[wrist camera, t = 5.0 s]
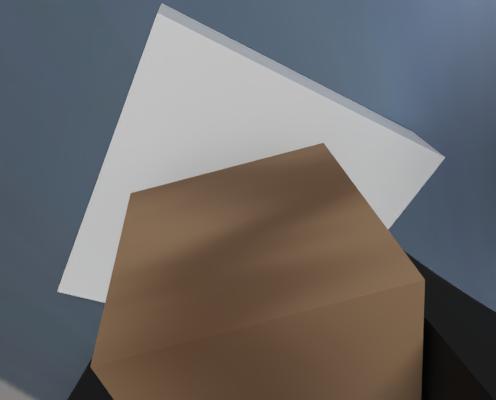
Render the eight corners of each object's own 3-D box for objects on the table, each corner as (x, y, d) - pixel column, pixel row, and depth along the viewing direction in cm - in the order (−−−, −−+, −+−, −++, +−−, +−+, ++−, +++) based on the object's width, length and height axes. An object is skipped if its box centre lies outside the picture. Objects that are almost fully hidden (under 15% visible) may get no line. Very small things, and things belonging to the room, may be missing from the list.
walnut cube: (323, 142, 10) (425, 279, 6) (341, 283, 13) (419, 447, 8) (130, 193, 10) (90, 367, 6) (189, 323, 13) (191, 507, 8)
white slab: (413, 132, 14) (445, 157, 12) (284, 309, 17) (295, 347, 16) (161, 3, 11) (157, 12, 9) (72, 251, 14) (57, 291, 13)
